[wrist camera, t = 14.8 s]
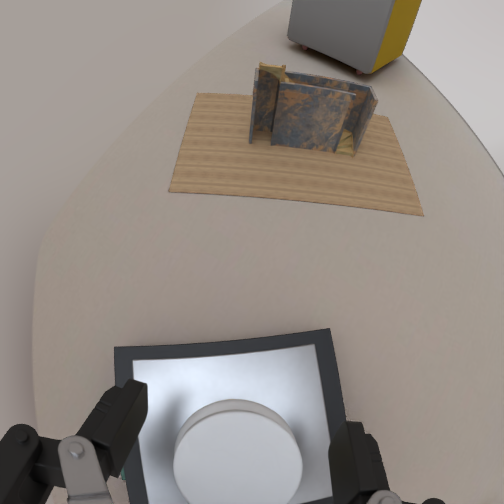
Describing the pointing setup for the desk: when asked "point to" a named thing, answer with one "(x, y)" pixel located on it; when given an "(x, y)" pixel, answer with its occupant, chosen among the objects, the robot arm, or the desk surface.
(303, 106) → the ruin model on sheet
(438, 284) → the desk surface
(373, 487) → the robot arm
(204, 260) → the desk surface
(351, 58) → the alarm clock
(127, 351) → the scale
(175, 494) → the scale pan
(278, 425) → the supplement bottle
